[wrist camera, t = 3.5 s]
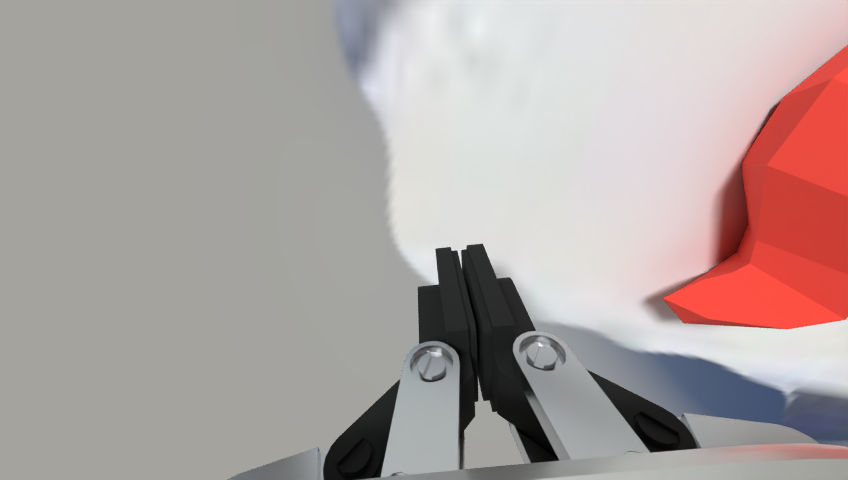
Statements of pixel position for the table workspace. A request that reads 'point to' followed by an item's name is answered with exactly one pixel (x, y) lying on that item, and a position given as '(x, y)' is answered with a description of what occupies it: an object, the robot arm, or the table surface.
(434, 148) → the table surface
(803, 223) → the animal figurine
